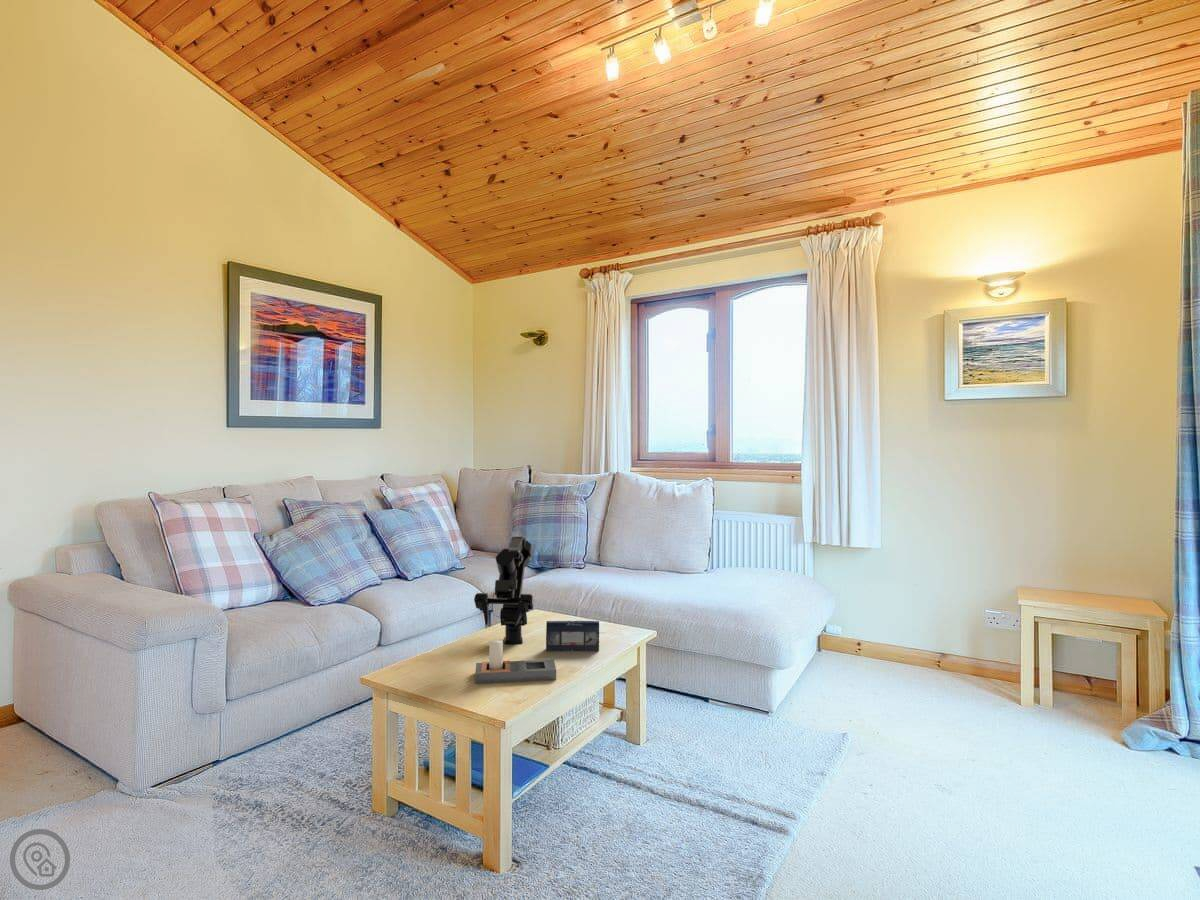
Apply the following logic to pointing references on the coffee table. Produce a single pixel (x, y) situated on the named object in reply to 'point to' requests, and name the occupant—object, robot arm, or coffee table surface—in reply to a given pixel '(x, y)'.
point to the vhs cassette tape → (572, 636)
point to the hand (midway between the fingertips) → (500, 625)
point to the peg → (496, 654)
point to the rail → (516, 671)
